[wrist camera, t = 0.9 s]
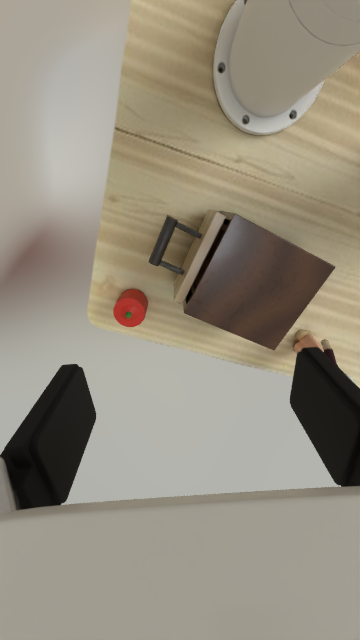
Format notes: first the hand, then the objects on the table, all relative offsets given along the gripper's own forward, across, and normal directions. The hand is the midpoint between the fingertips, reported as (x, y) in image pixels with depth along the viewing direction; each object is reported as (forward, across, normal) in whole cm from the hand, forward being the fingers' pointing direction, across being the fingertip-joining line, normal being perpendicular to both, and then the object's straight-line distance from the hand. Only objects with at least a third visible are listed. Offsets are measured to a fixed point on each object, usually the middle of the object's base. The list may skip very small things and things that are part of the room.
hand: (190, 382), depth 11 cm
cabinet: (+28, -9, +3) cm, 30 cm away
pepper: (+28, +8, +7) cm, 30 cm away
